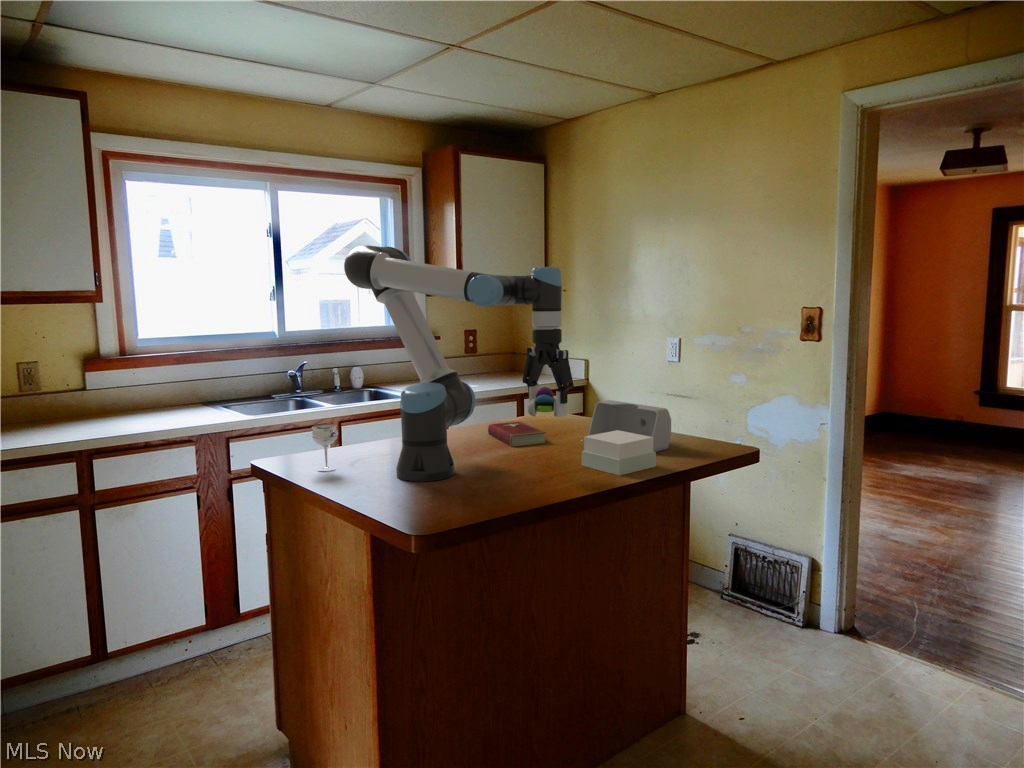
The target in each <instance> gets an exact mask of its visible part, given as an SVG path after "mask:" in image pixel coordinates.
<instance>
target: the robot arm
mask: <svg viewBox="0 0 1024 768" xmlns="http://www.w3.org/2000/svg"><path fill="white" fill-rule="evenodd" d="M411 259H412V258H410V256H409V254H407V253H406V252H404V251H403V250H401V249H398V248H395V247H391V246H375V245H369V244H366V245H364V244H363V245H359V246H356V247H354V248H352V249H351V250H350V251H349V253H348V254H347V255H346V258H345V260H344V263H343V265H344V266H343V270H344V272H345V273H344V274H345V276H346V278H347V279H348V281H349V282H350V283H351V284H352V285H354V286H355V287H357V288H360V289H365V290H367V289H368V290H371V291H372V294H373V295H374V298H375V299H376V302H379V303H380V304H384V305H385V308H386V310H387V313H388V314H389V317H390V318H391V321H392V323H393V325H394V327H395V329H396V331H397V334H398V335H399V338H400V339H401V342H402V344H403V347H404V348H405V351H406V353H407V355H408V357H409V359H410V361H411V363H412V365H413V368H414V370H415V371H416V374H417V376H418V378H419V380H420V381H419V383H416V384H411V385H409V386H406V387H405V388H404V389H402V390H401V393H400V403H399V407H400V419H401V420H400V421H401V422H400V423H401V442H402V445H401V446H402V447H401V450H400V454H399V456H398V461H397V465H396V468H395V469H396V477H397V478H398V479H401V480H404V481H407V480H409V481H410V482H433V481H434V482H435V481H440V480H445V479H447V478H450V477H451V478H452V476H454V474H455V473H456V472H455V469H456V468H455V462H454V460H453V457H452V453H451V451H450V449H449V445H448V430H447V429H448V428H450V427H452V426H456V425H457V426H458V425H460V424H461V423H463V422H465V421H466V420H467V419H468V418H469V417H471V416H472V414H473V413H474V410H475V407H476V396H475V392H474V389H473V388H472V387H471V385H469V384H468V383H466V382H464V381H462V380H461V378H460V376H459V374H458V372H457V370H455V369H452V368H450V367H449V366H448V363H447V361H446V359H445V357H444V355H443V353H442V350H441V348H440V347H439V344H438V342H437V340H436V338H435V336H434V334H433V331H432V330H431V328H430V325H429V324H428V321H427V319H426V317H425V315H424V312H423V311H422V309H421V307H420V304H419V303H418V301H417V298H416V296H415V294H414V293H418V294H424V295H429V296H434V297H440V298H445V299H450V300H451V299H452V300H456V301H460V302H461V301H462V302H468V303H470V304H474V305H476V306H479V307H485V308H486V307H487V308H491V307H495V306H496V307H497V306H519V305H520V306H521V305H522V306H524V305H525V306H526V305H527V306H530V305H531V311H532V312H531V317H532V318H531V327H533V329H532V330H531V331H532V337H531V338H532V343H533V344H535V345H534V346H532V347H527V348H526V359H525V365H524V370H523V375H522V383H523V384H526V386H527V394H528V395H527V397H528V403H529V402H530V401H531V400H532V399H535V398H536V393H537V391H538V390H539V389H540V387H539V383H538V382H539V379H540V376H541V374H542V372H543V369H544V367H545V366H546V365H547V367H548V368H549V369H550V371H551V374H552V376H553V379H554V381H555V383H556V387H557V388H558V389H557V390H556V394H555V395H556V397H555V398H556V416H555V417H557V418H560V417H566V416H567V404H568V399H569V398H568V391H569V390H572V389H574V387H575V385H574V382H573V381H574V380H573V376H572V372H571V365H570V360H569V350H568V349H560V344H561V343H562V340H563V338H562V337H563V335H562V333H563V331H562V329H561V328H560V327H562V296H563V295H562V289H563V288H562V287H563V285H562V272H561V268H559V267H556V266H539V267H538V266H536V267H535V266H534V267H533V268H532V269H531V272H530V274H529V275H503V274H502V275H498V274H497V275H495V274H488V273H482V272H475V271H469V270H464V269H459V268H452V267H446V266H443V265H442V266H440V265H435V264H430V263H422V262H417V261H412V260H411ZM409 481H408V482H409Z"/></svg>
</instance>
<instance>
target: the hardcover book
mask: <svg viewBox="0 0 1024 768" xmlns="http://www.w3.org/2000/svg"><path fill="white" fill-rule="evenodd" d="M487 433H488V435H489V436H491V437H493V438H494V439H496V440H498V441H500V442H502V443H503V444H506V445H507V446H509V447H510V448H511V447H520V446H529V445H538V444H545V435H546V434H547V432H546V431H545V430H543V429H539V427H535V426H533V425H531V424H528V423H526V422H523V421H522V420H520V421H508V422H497V423H489V424H488V425H487Z"/></svg>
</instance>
